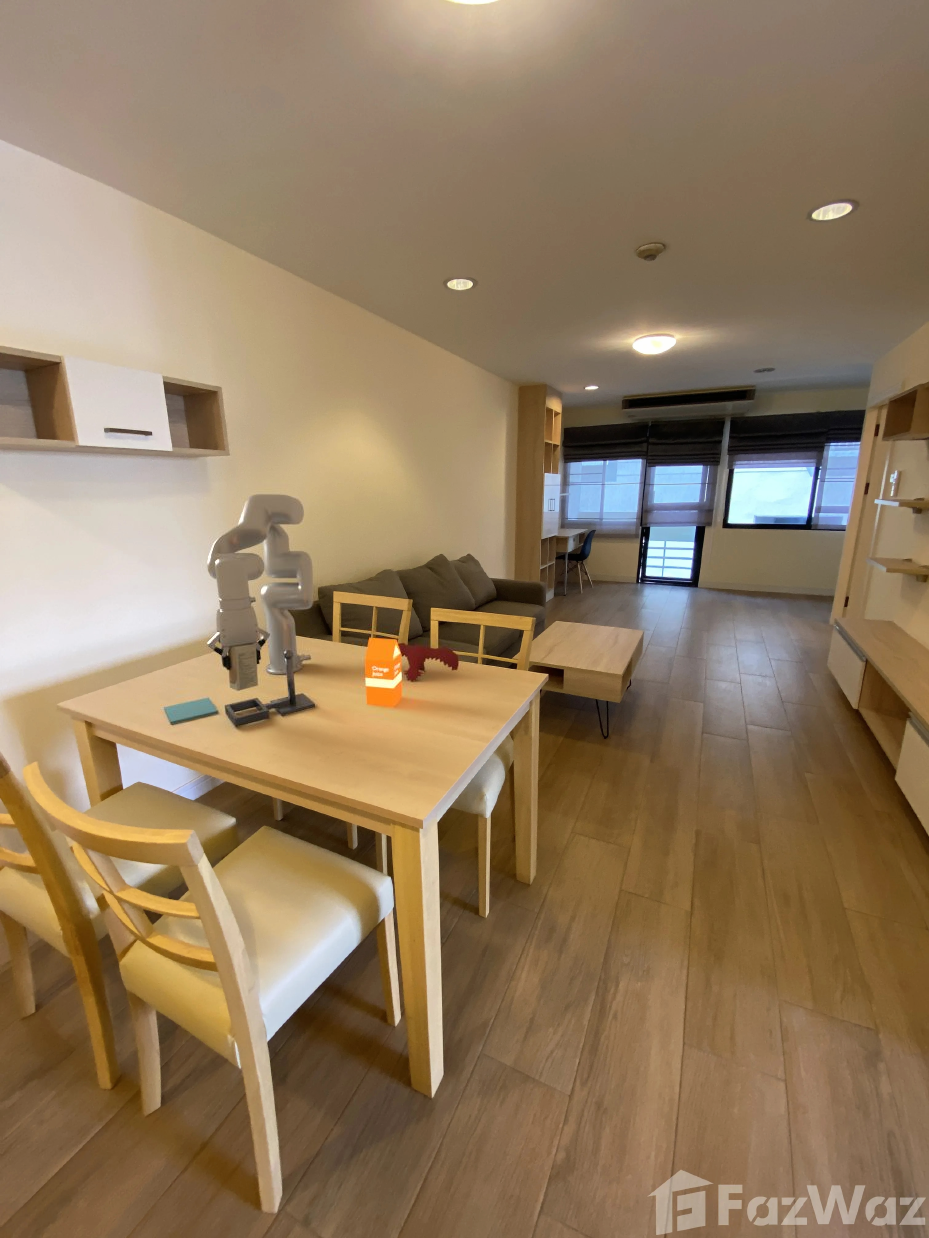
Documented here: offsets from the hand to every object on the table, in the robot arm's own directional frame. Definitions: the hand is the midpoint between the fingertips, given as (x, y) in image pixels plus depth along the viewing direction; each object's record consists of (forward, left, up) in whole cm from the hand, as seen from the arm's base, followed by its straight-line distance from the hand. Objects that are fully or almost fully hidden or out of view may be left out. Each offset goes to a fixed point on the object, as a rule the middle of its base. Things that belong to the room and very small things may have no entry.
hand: (242, 665), depth 139 cm
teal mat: (+12, -14, -16) cm, 24 cm away
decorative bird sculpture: (-57, +1, -16) cm, 59 cm away
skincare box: (+1, +1, -6) cm, 6 cm away
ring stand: (-7, 0, -16) cm, 17 cm away
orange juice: (-37, +13, -16) cm, 42 cm away
